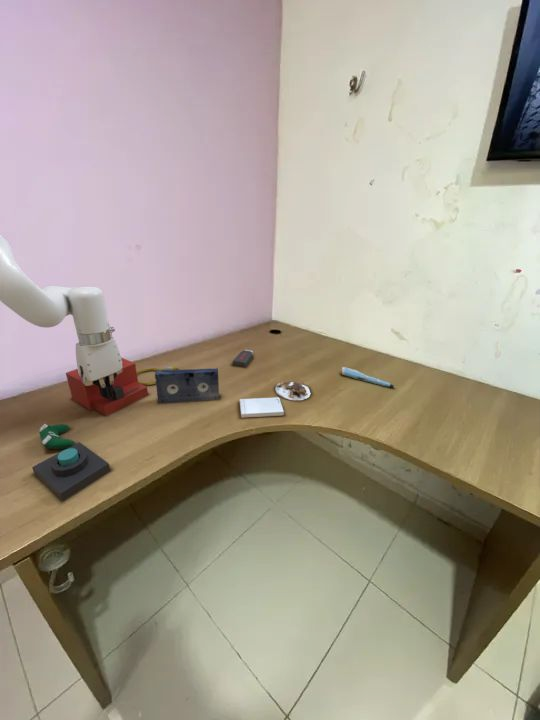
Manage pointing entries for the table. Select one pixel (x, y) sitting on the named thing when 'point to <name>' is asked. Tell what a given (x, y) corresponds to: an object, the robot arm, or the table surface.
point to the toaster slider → (118, 392)
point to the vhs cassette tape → (187, 385)
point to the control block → (71, 472)
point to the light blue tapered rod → (363, 377)
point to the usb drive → (243, 358)
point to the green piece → (54, 436)
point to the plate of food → (292, 390)
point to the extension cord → (155, 370)
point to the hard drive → (261, 407)
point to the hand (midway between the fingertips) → (108, 396)
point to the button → (68, 457)
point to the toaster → (125, 379)
